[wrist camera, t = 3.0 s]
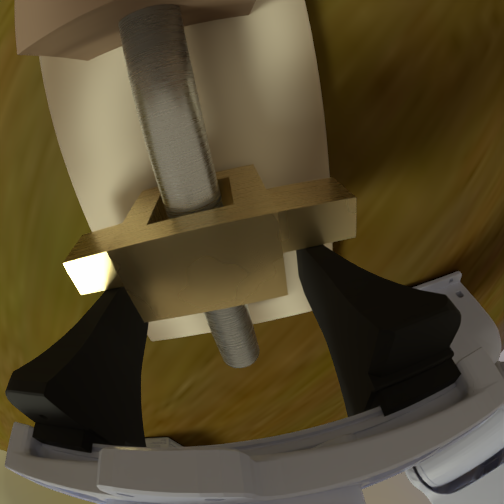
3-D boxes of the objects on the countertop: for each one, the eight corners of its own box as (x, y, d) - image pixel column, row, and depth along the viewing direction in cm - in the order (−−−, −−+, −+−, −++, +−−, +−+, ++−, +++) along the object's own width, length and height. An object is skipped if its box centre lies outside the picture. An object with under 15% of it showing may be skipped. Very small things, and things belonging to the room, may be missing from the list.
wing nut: (319, 153, 12) (376, 193, 7) (324, 212, 13) (370, 274, 9) (87, 208, 12) (38, 270, 7) (110, 259, 13) (79, 331, 9)
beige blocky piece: (284, -36, 8) (334, -101, 2) (324, 290, 19) (361, 370, 13) (50, 29, 7) (-35, 17, 2) (154, 325, 18) (143, 409, 13)
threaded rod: (183, 15, 7) (176, -2, 5) (256, 335, 15) (262, 363, 14) (128, 31, 7) (109, 20, 5) (221, 341, 15) (223, 370, 13)
